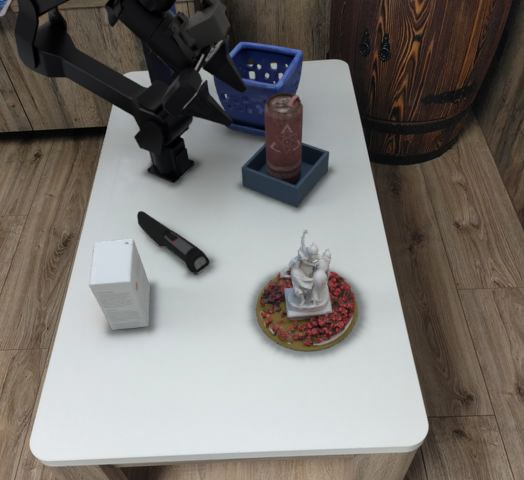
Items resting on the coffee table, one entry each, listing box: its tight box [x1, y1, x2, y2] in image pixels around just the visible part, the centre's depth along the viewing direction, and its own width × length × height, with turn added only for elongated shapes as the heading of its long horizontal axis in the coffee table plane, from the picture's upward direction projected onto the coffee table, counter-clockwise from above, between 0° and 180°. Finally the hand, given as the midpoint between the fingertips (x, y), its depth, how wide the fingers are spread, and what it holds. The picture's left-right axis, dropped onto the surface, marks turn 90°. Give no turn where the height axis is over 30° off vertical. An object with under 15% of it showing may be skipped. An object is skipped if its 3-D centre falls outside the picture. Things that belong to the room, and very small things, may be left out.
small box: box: [88, 238, 151, 331], centre depth 71 cm, size 8×6×10 cm
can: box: [264, 93, 304, 184], centre depth 84 cm, size 6×6×14 cm
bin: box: [240, 142, 330, 208], centre depth 88 cm, size 11×11×4 cm
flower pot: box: [212, 41, 304, 138], centre depth 94 cm, size 13×13×12 cm
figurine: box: [255, 228, 359, 352], centre depth 68 cm, size 15×15×14 cm
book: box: [140, 2, 177, 86], centre depth 95 cm, size 14×5×20 cm, turn 178°
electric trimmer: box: [136, 210, 211, 275], centre depth 81 cm, size 4×16×3 cm, turn 45°
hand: (238, 107), depth 79 cm, fingers open, 9 cm apart
